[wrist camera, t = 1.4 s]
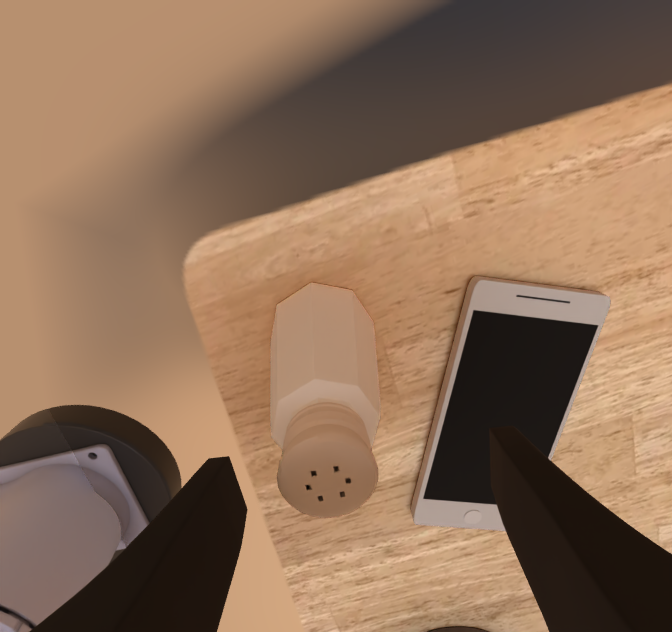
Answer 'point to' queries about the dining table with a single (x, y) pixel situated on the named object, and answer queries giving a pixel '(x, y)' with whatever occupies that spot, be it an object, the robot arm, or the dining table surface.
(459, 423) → the smartphone
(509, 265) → the dining table surface
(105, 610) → the robot arm
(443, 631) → the bowl
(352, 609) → the dining table surface
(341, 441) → the salt shaker
